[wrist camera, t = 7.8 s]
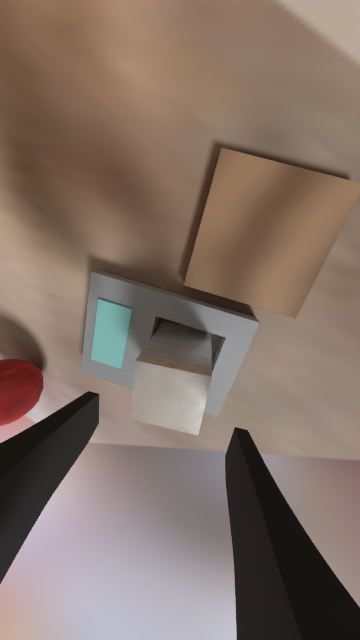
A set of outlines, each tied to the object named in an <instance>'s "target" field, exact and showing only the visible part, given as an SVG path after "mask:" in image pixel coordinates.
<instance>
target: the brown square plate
mask: <svg viewBox="0 0 360 640" xmlns="http://www.w3.org/2000/svg"><path fill="white" fill-rule="evenodd" d="M359 194H360V183H359V182H355V181H351V180H347V179H343V178H339V177H335V176H331V175H327V174H323V173H319V172H315V171H311V170H307V169H304V168H300V167H296V166H292V165H288V164H284V163H280V162H276V161H272V160H268V159H264V158H260V157H256V156H253V155H249V154H245V153H241V152H237V151H233V150H229V149H225V148H221V151H220V155H219V158H218V162H217V166H216V169H215V173H214V177H213V180H212V184H211V187H210V191H209V195H208V198H207V202H206V206H205V209H204V213H203V216H202V220H201V224H200V227H199V231H198V235H197V238H196V242H195V245H194V249H193V253H192V256H191V260H190V264H189V267H188V271H187V274H186V278H185V282H184V286H188V287H191V288H194V289H198V290H201V291H205V292H208V293H211V294H215V295H218V296H221V297H225V298H228V299H231V300H235V301H238V302H241V303H245V304H248V305H252V306H255V307H258V308H262V309H265V310H268V311H272V312H275V313H278V314H282V315H285V316H288V317H292V318H296V316H297V314H298V312H299V311H300V309H301V307H302V305H303V303H304V301H305V299H306V297H307V295H308V293H309V291H310V289H311V287H312V285H313V283H314V281H315V279H316V278H317V276H318V274H319V272H320V270H321V268H322V266H323V264H324V262H325V260H326V258H327V256H328V254H329V252H330V250H331V248H332V246H333V245H334V243H335V241H336V239H337V237H338V235H339V233H340V231H341V229H342V227H343V225H344V223H345V221H346V219H347V217H348V215H349V213H350V212H351V210H352V208H353V206H354V204H355V202H356V200H357V198H358V196H359Z"/></svg>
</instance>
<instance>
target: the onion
mask: <svg viewBox="0 0 360 640" xmlns="http://www.w3.org/2000/svg"><path fill="white" fill-rule="evenodd" d="M42 390H43V375H42V372H41V370H40V369H39V368H38V367H36V366H34V365H33V364H31V363H29V362H26V361H22V360H17V359H3V360H0V426H1V425H5V424H9V423H11V422H13V421H15V420H18V419H19V418H21V417H22V416H23V415H25V414H26V413H27V412H29V411H30V410H31V409H32V408H33V407H34V406H35V405H36V403H37V402H38V401H39V398H40V395H41V392H42Z"/></svg>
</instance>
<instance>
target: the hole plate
mask: <svg viewBox="0 0 360 640" xmlns="http://www.w3.org/2000/svg"><path fill="white" fill-rule="evenodd" d="M159 317H161V318H164V319H167V320H170V321H174V322H177V323H180V324H183V325H187V326H190V327H193V328H196V329H199V330H203V331H206V332H209V333H212V334H216V335H219V336H222V339H221V341H220V344H219V347H218V349H217V352H216V354H215V357H214V360H213V362H212V379H211V384H210V388H209V392H208V396H207V400H206V405H205V409H204V413H205V414H208V415H211V416H214V417H218V415H219V413H220V411H221V408H222V406H223V404H224V402H225V400H226V397H227V395H228V393H229V391H230V388H231V386H232V384H233V382H234V380H235V377H236V375H237V373H238V371H239V368H240V366H241V364H242V362H243V359H244V357H245V355H246V353H247V351H248V348H249V346H250V344H251V342H252V339H253V337H254V335H255V333H256V331H257V328H258V326H259V324H260V322H259V321H258V320H257V318H256V317H254V316H250V315H247V314H244V313H240V312H237V311H234V310H230V309H227V308H224V307H220V306H217V305H214V304H210V303H207V302H204V301H200V300H197V299H194V298H191V297H187V296H184V295H181V294H177V293H174V292H171V291H167V290H164V289H161V288H157V287H154V286H151V285H147V284H144V283H141V282H137V281H134V280H131V279H127V278H124V277H121V276H117V275H114V274H111V273H107V272H104V271H92V272H91V274H90V284H89V294H88V304H87V314H86V324H85V333H84V343H83V353H82V363H81V372H82V373H85V374H88V375H91V376H94V377H97V378H100V379H103V380H106V381H109V382H112V383H115V384H118V385H121V386H124V387H127V388H130V389H133V383H134V370H135V360H136V359H137V357H138V356H139V355H140V353H141V352H142V350H143V349H144V348H145V346H146V345H147V344H148V342H149V341H150V339H151V338H152V337H153V335H154V334H155V330H156V326H157V322H158V318H159Z"/></svg>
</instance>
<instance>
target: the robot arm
mask: <svg viewBox="0 0 360 640" xmlns="http://www.w3.org/2000/svg"><path fill="white" fill-rule="evenodd" d="M98 423H99V394H97V393H93V392H89V391H88V392H87V393H85V394H83V395H82V396H80V397H78V398H77V399H75V400H74V401H72V402H71V403H69V404H67V405H66V406H64V407H63V408H61V409H60V410H58V411H56V412H55V413H53V414H51V415H50V416H48V417H46V418H45V419H43V420H42V421H40V422H38V423H36V424H35V425H33V426H31V427H29V428H28V429H26V430H24V431H23V432H21V433H19V434H17V435H15V436H13V437H12V438H10V439H8V440H6V441H4V442H2V443H0V584H1V582H2V580H3V578H4V576H5V575H6V573H7V571H8V569H9V567H10V566H11V564H12V562H13V560H14V559H15V557H16V555H17V553H18V552H19V550H20V548H21V546H22V545H23V543H24V541H25V539H26V538H27V536H28V534H29V532H30V531H31V529H32V527H33V525H34V524H35V522H36V521H37V519H38V517H39V516H40V514H41V512H42V510H43V509H44V507H45V505H46V504H47V502H48V501H49V499H50V498H51V496H52V494H53V493H54V492H55V490H56V489H57V487H58V486H59V484H60V483H61V481H62V480H63V479H64V477H65V476H66V474H67V473H68V471H69V470H70V468H71V467H72V465H73V464H74V463H75V461H76V460H77V458H78V456H79V455H80V454H81V452H82V451H83V449H84V448H85V446H86V445H87V443H88V442H89V440H90V438H91V436H92V435H93V433H94V431H95V429H96V427H97V425H98ZM225 458H226V459H225V470H226V489H227V499H228V508H229V517H230V526H231V536H232V545H233V556H234V572H235V595H236V623H237V624H236V625H237V640H360V607H359V606H358V605H357V603H356V602H355V601H354V599H353V598H352V597H351V595H350V594H349V593H348V591H347V590H346V589H345V587H344V586H343V585H342V583H341V582H340V581H339V579H338V578H337V577H336V575H335V574H334V572H333V571H332V570H331V568H330V567H329V565H328V564H327V562H326V561H325V560H324V558H323V557H322V555H321V554H320V553H319V551H318V549H317V548H316V547H315V545H314V544H313V542H312V541H311V539H310V538H309V536H308V535H307V533H306V532H305V530H304V528H303V527H302V526H301V524H300V522H299V521H298V519H297V518H296V516H295V514H294V513H293V511H292V510H291V508H290V506H289V505H288V503H287V501H286V500H285V498H284V497H283V495H282V493H281V491H280V490H279V488H278V486H277V484H276V483H275V481H274V479H273V477H272V476H271V474H270V472H269V470H268V468H267V467H266V465H265V463H264V461H263V459H262V457H261V455H260V453H259V451H258V449H257V447H256V445H255V443H254V441H253V440H252V438H251V436H250V434H249V432H248V430H244V429H240V428H236V427H235V429H234V432H233V435H232V438H231V441H230V444H229V447H228V450H227V453H226V456H225Z"/></svg>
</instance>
